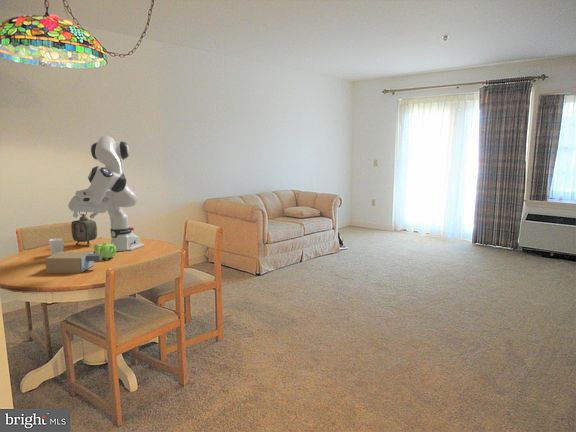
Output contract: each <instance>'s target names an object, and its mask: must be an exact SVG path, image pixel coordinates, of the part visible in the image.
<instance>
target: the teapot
mask: <svg viewBox="0 0 576 432" xmlns="http://www.w3.org/2000/svg"><path fill="white" fill-rule="evenodd" d="M93 252H94V254H102V259H104V261H108V260H109V259H113V258H114V257H115V256H116V253H117V252H118V251H117V250H116V246H114V243H111V242H110V243H108V242H102V243H101V244H97V243H96V244H94V249H93Z"/></svg>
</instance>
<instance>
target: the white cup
mask: <svg viewBox="0 0 576 432" xmlns="http://www.w3.org/2000/svg"><path fill="white" fill-rule="evenodd" d="M64 243H65V242H64V238H61V237H59V238H58V237H57V238H50V239H48V246H49V250H50V256H51V255H54V254H56V253H58V252H65V251H64V247H65V246H64Z"/></svg>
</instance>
